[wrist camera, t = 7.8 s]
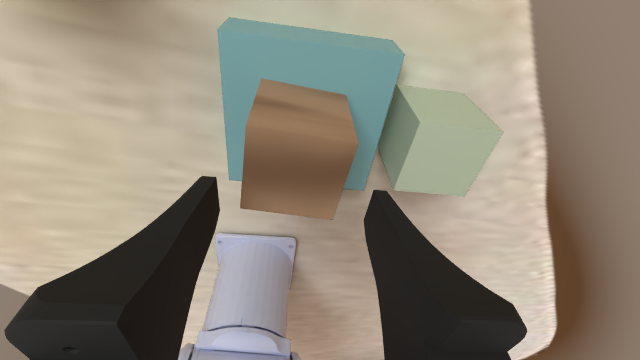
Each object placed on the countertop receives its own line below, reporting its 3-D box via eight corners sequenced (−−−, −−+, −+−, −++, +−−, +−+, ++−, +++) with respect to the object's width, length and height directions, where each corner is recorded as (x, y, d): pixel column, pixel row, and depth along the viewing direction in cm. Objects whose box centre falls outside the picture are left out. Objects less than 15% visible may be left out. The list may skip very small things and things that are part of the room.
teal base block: (357, 163, 25) (363, 190, 22) (237, 153, 24) (229, 180, 21) (390, 38, 19) (404, 54, 16) (231, 15, 18) (217, 29, 15)
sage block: (436, 151, 24) (464, 196, 20) (377, 144, 23) (393, 190, 19) (463, 92, 21) (504, 131, 17) (396, 84, 20) (420, 122, 16)
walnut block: (326, 162, 21) (332, 219, 16) (254, 150, 20) (240, 208, 15) (345, 94, 17) (358, 144, 13) (261, 78, 17) (245, 124, 12)
